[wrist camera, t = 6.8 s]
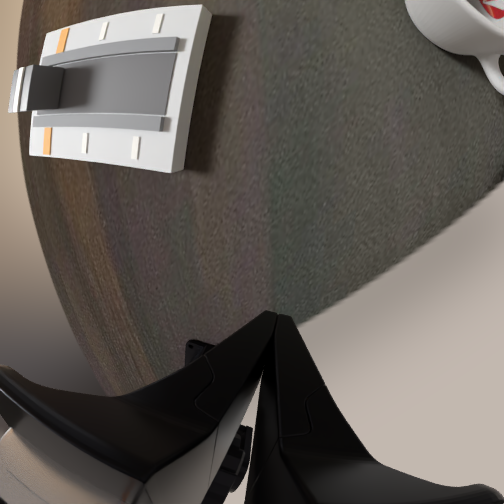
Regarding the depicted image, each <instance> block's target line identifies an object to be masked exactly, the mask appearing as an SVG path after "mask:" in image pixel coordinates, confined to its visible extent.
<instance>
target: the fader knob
mask: <svg viewBox="0 0 504 504" xmlns="http://www.w3.org/2000/svg"><path fill="white" fill-rule="evenodd" d="M63 72H64V68H62V67H53V66H43V65H31V66H27V67H22V68H20V69H18V70H15V71H14V75H13V81H12V87H11V94H10V101H9V110H8V113H14V112H26V111H40V110H52V109H58V103H59V96H60V89H61V83H62V77H63Z"/></svg>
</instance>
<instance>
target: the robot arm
mask: <svg viewBox="0 0 504 504" xmlns="http://www.w3.org/2000/svg"><path fill="white" fill-rule="evenodd" d="M191 345H193V346H191ZM264 365H265V366H264ZM262 372H263V373H262ZM261 376H262V378H261ZM260 378H261V385H260V392H259V400H258V409H257V416H256V424H255V431H254V439H253V447H252V454H251V461H250V452H251V442H252V432H253V428H251V427H249V426H243V425H241V421H242V419H243V417H244V415H245V413H246V410H247V408H248V406H249V404H250V402H251V400H252V397H253V395H254V393H255V390H256V388H257V386H258V384H259V381H260ZM0 414H1V416H2V417H3V419H4V420H5V421H6V423H7V424H8V426H9V427H10V428H9V429H8V430H7V432H6V433H5V434H4V435H3V436H2V438H1V439H0V504H223V503H224V501H225V499H226V497H227V495H228V493H229V492H231V493H232V492H234V491H235V490H236V489H237V488H238V487H239V485H240V484H241V482H242V480H243V479H244V476H245V474H246V472H247V469H248V465H249V461H250V468H249V475H248V482H247V488H246V496H245V502H244V504H503V503H504V497H503V496H502V494H500V493H499V492H498V491H497V490H496V489H494V488H491V487H489V486H486V485H484V484H474V485H469V486H463V487H450V486H443V485H439V484H435V483H432V482H429V481H426V480H423V479H420V478H417V477H414V476H411V475H408V474H406V473H403V472H400V471H398V470H395V469H392V468H390V467H387V466H385V465H383V464H381V463H380V462H378V461H377V460H376V459H374V458H373V457H372V456H371V454H370V453H369V452H368V451H367V450H366V448H365V447H364V445H363V444H362V442H361V441H360V440H359V438H358V437H357V435H356V434H355V433H354V431H353V429H352V428H351V427H350V425H349V424H348V422H347V421H346V419H345V418H344V416H343V415H342V413H341V412H340V410H339V408H338V407H337V405H336V403H335V402H334V400H333V398H332V396H331V394H330V392H329V390H328V388H327V386H326V385H325V382H324V380H323V379H322V377H321V375H320V373H319V371H318V369H317V367H316V365H315V363H314V361H313V359H312V357H311V355H310V353H309V351H308V349H307V347H306V345H305V343H304V341H303V339H302V337H301V335H300V333H299V331H298V329H297V327H296V325H295V323H294V321H293V319H292V317H291V316H288V315H284V314H278V315H277V313H275V312H271V311H267V310H265V311H264V312H262V313H261V314H259V315H258V316H257V317H255V318H254V319H253V320H251V321H250V322H249V323H247V324H246V325H244V326H243V327H242V328H240V329H239V330H238V331H236V332H235V333H233V334H232V335H231V336H229V337H228V338H226V339H225V340H223V341H222V342H221V343H219V344H218V345H216V346H215V347H213V346H210V345H207V344H204V343H200V342H197V341H194V340H188V342H187V343H186V351H185V367H183V368H182V369H180V370H178V371H176V372H174V373H172V374H170V375H168V376H166V377H164V378H162V379H160V380H158V381H156V382H153V383H151V384H149V385H147V386H145V387H143V388H140V389H138V390H136V391H134V392H131V393H129V394H125V395H122V396H116V397H106V396H98V395H89V394H83V393H76V392H69V391H64V390H58V389H53V388H49V387H45V386H41V385H39V384H36V383H34V382H31V381H29V380H28V379H26V378H24V377H23V376H22V375H20V374H19V373H18V372H17V371H15V370H14V369H12V368H11V367H9V366H5V365H0Z"/></svg>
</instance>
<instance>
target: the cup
mask: <svg viewBox="0 0 504 504" xmlns="http://www.w3.org/2000/svg"><path fill="white" fill-rule="evenodd" d="M405 3H406V7H407V11H408V13H409V15H410V17H411V19H412V21H413V23H414V24H415V26H416V27H417V28H418V29H419V31H420V32H421V33H422V34H423V35H424V36H425V37H426V38H427V39H429V40H430V41H431V42H432V43H434V44H435V45H437V46H439V47H440V48H442V49H444V50H446V51H449V52H452V53H455V54H460V55H473V56H475V57H477V58H478V60H479V61H480V63H481V65H482V67H483V69H484V71H485V73H486V75H487V77H488V79H489V81H490V82H491V84H492V85H493V87H494V88H495V89H496V90H497V91H498V92H499V93H501V94H502V95H504V77H503V75H502V73H501V71H500V69H499V64H498V60H499V57H500V55H504V0H405Z"/></svg>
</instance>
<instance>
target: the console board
mask: <svg viewBox="0 0 504 504" xmlns="http://www.w3.org/2000/svg"><path fill="white" fill-rule="evenodd" d="M211 18H212V14H211V13H210V12H209V11H208V10H207V9H206V8H205V7H204V6H203V5H186V6H172V7H162V8H153V9H146V10H139V11H133V12H127V13H121V14H116V15H111V16H107V17H102V18H98V19H94V20H90V21H86V22H82V23H79V24H75V25H72V26H68V27H65V28H62V29H59V30H56V31H53V32H50V33H47V35H46V39H45V43H44V47H43V51H42V55H41V60H40V65H43V66H53V67H62V68H64V72H63V77H62V83H61V89H60V96H59V103H58V109H52V110H40V111H32V120H31V132H30V151H29V155H34V156H46V157H56V158H66V159H75V160H84V161H92V162H100V163H107V164H115V165H122V166H129V167H135V168H142V169H148V170H155V171H161V172H167V173H173V172H177V171H180V170H183V169H184V161H185V154H186V147H187V140H188V133H189V127H190V121H191V115H192V109H193V103H194V97H195V92H196V87H197V81H198V76H199V71H200V66H201V61H202V57H203V52H204V47H205V43H206V39H207V34H208V30H209V26H210V22H211Z"/></svg>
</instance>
